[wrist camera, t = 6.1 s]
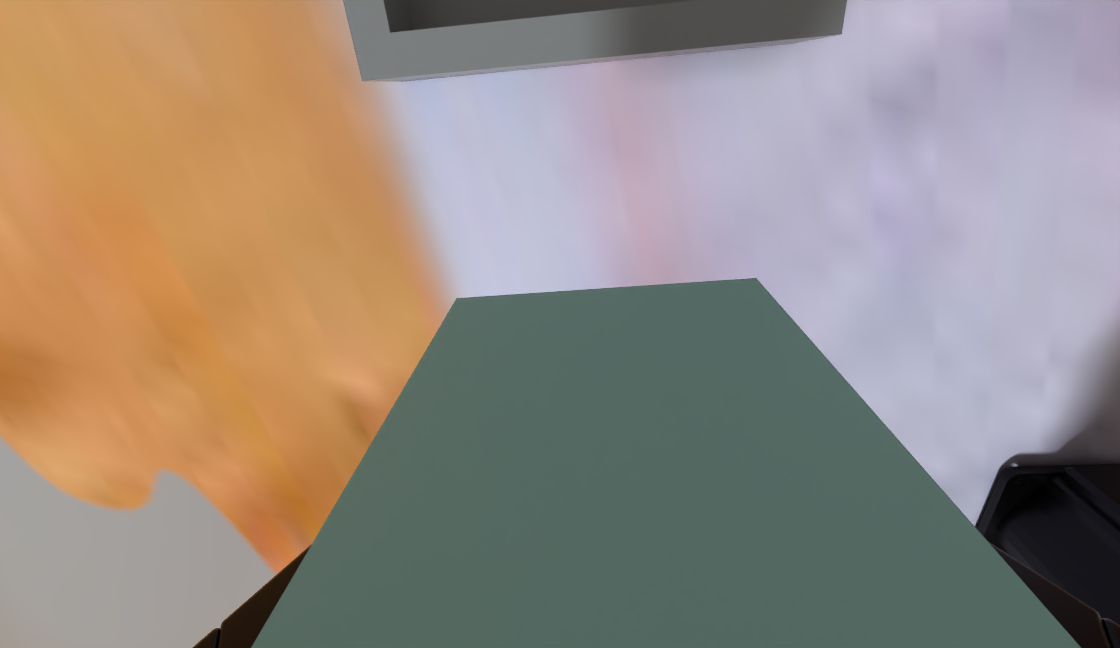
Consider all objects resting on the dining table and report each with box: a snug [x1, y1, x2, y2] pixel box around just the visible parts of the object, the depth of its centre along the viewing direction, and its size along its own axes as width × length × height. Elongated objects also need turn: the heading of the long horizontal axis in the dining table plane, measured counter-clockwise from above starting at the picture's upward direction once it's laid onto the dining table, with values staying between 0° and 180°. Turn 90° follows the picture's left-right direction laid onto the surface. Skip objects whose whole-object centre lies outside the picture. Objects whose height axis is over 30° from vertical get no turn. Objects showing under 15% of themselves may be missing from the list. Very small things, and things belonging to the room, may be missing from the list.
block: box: [251, 278, 1081, 648], centre depth 6 cm, size 4×4×6 cm
